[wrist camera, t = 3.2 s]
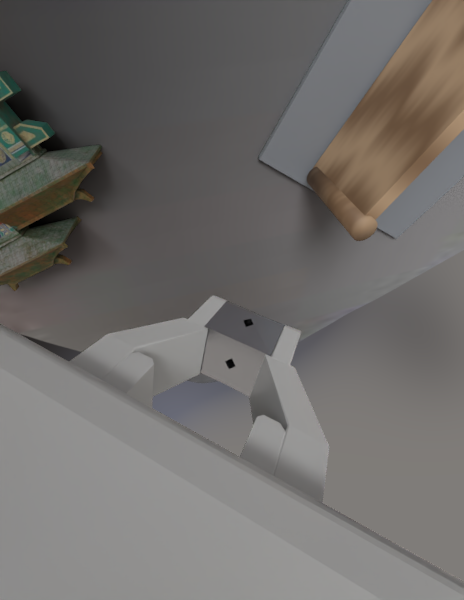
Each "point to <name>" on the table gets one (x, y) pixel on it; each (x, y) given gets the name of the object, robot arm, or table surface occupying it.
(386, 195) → the fence leaf
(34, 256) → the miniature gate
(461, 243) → the table surface
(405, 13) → the board
